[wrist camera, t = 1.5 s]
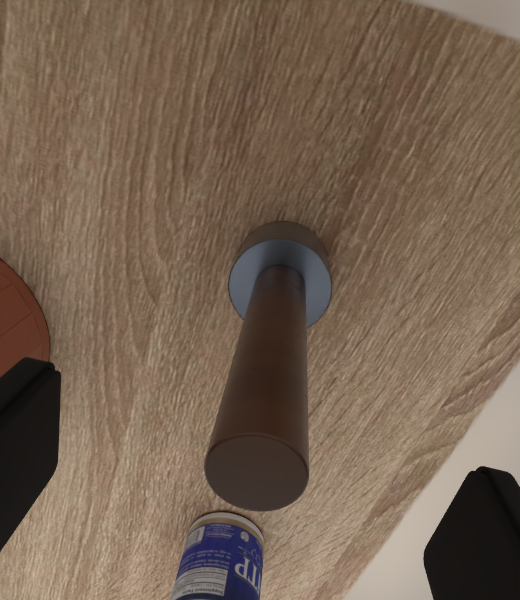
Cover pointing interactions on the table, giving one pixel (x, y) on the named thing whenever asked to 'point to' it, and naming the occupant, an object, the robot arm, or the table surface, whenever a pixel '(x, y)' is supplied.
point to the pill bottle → (221, 560)
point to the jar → (20, 322)
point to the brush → (269, 369)
